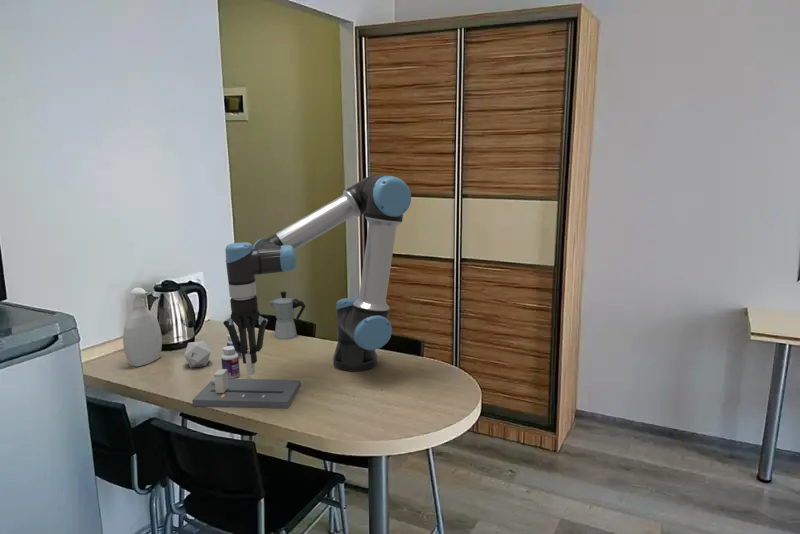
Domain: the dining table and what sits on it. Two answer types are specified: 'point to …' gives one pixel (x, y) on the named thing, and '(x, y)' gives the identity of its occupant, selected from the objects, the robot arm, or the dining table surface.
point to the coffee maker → (286, 316)
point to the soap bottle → (141, 333)
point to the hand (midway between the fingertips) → (251, 373)
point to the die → (197, 354)
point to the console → (250, 394)
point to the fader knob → (221, 380)
